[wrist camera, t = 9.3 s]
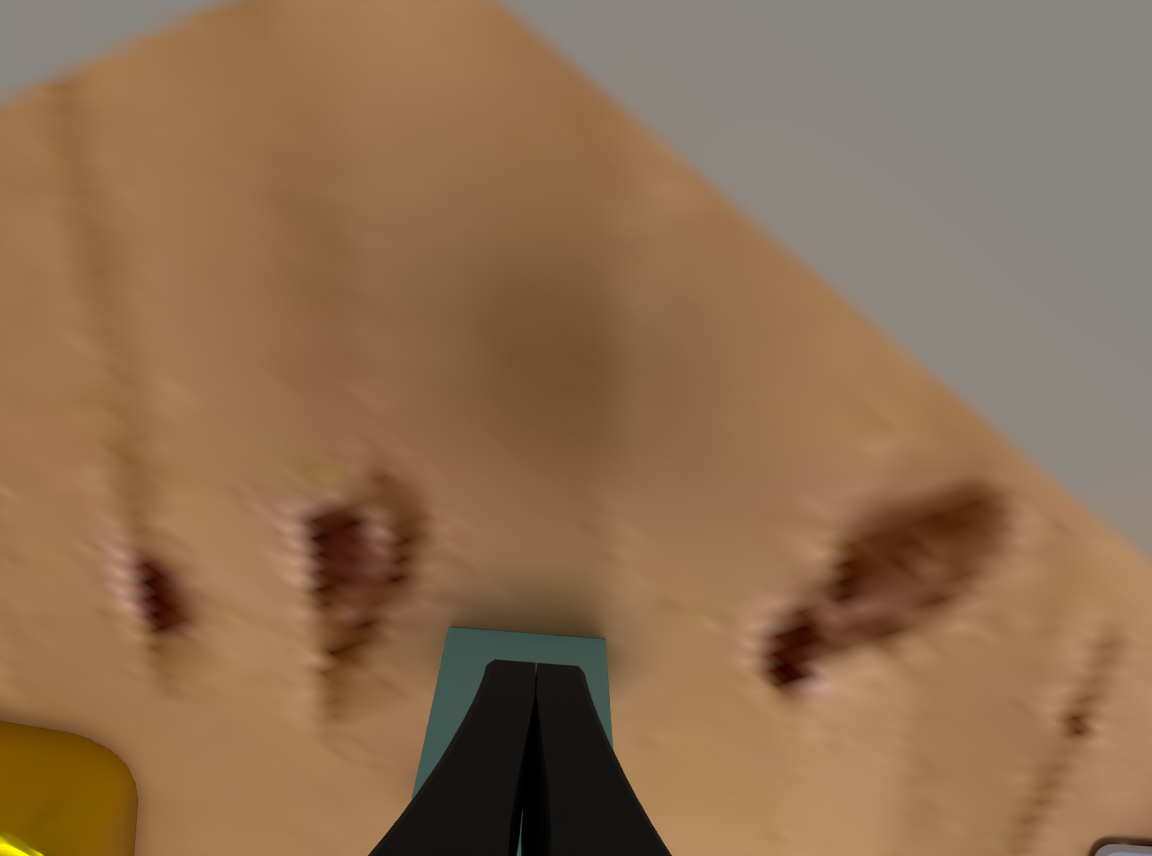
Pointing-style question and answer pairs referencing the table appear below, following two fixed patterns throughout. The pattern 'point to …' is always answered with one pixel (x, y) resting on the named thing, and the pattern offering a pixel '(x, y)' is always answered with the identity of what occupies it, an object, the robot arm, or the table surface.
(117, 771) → the element tile
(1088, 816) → the table surface
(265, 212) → the table surface
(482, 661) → the teal domino
